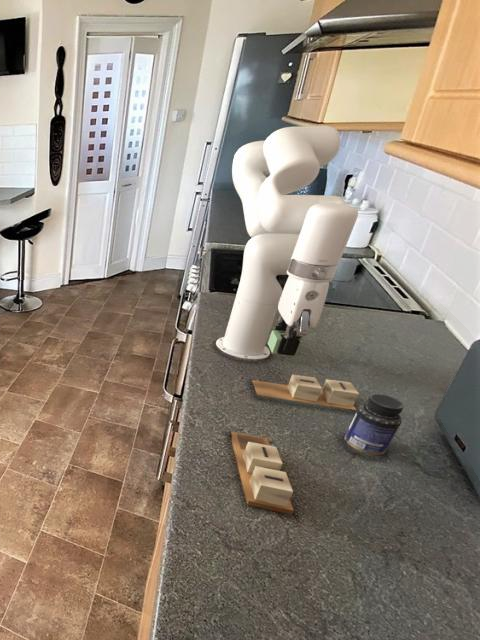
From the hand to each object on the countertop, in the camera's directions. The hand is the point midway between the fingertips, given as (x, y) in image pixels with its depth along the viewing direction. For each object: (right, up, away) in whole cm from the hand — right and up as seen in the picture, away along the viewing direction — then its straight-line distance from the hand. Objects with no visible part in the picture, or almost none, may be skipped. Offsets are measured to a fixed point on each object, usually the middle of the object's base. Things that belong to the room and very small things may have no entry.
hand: (282, 347), depth 94 cm
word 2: (+7, -11, +4) cm, 14 cm away
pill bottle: (+8, -19, -11) cm, 23 cm away
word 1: (-16, -22, -15) cm, 31 cm away
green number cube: (0, 0, 0) cm, 1 cm away
